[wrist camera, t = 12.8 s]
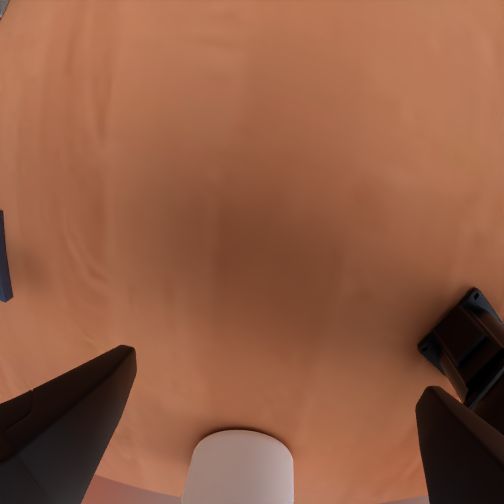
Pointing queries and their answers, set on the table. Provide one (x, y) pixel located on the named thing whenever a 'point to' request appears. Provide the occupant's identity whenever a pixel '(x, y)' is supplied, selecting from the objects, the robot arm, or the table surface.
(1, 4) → the coffee mug
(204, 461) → the wine bottle
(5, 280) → the lever stand
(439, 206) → the table surface
